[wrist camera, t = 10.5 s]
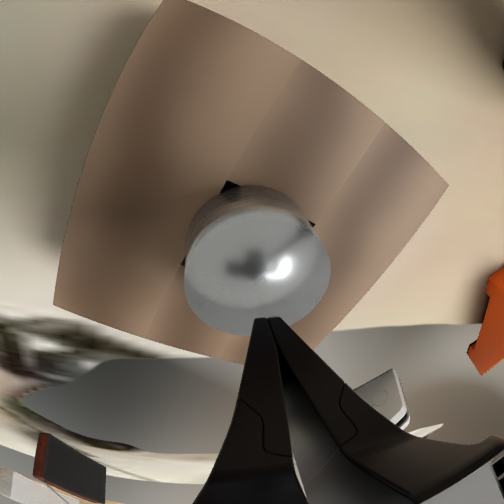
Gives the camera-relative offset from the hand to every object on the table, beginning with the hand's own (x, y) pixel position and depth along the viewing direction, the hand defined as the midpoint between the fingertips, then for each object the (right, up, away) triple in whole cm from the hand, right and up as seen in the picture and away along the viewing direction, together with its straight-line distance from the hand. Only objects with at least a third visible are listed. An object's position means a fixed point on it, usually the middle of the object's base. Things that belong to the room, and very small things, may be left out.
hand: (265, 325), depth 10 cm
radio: (-32, -34, +29) cm, 55 cm away
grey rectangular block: (-77, -83, +54) cm, 125 cm away
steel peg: (-1, +5, +8) cm, 10 cm away
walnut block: (-1, +6, +8) cm, 10 cm away
